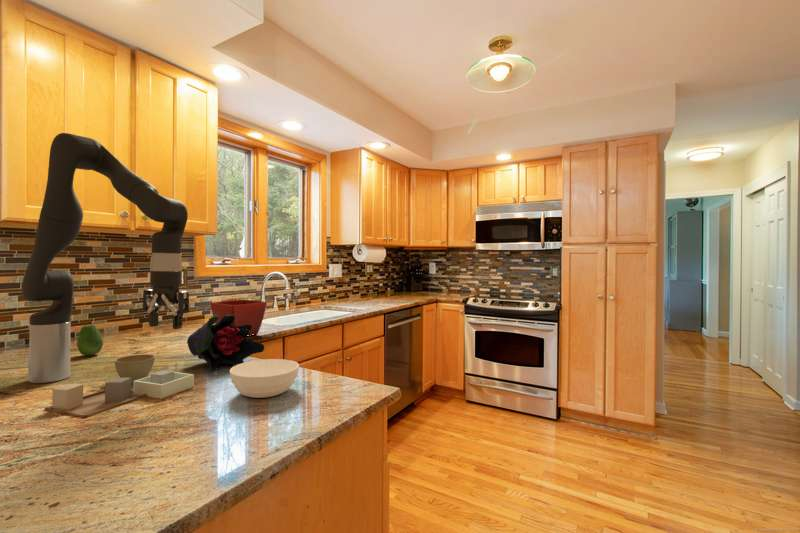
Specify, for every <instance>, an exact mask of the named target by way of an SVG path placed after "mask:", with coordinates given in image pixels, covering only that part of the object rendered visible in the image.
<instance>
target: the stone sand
mask: <svg viewBox="0 0 800 533" xmlns="http://www.w3.org/2000/svg"><path fill="white" fill-rule="evenodd" d="M51 391H52V401H51V403H52V404H51V406H52V408H56V409H62V410H70V409H73V408H75V407H78V406H81V405H83V396H84V384H80V383H79V384H78V383H67V384H63V385H61V386H58V387H55V388H52V390H51Z"/></svg>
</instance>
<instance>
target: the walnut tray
mask: <svg viewBox="0 0 800 533" xmlns="http://www.w3.org/2000/svg"><path fill="white" fill-rule="evenodd" d="M147 397H148V396H147V394H144V395H136V394H133V389H132V394H131V397H129V398H128V399H126V400H124V401H122V402H105V389H104V390H100V391H97V392H94V393H89V394H87V395H83V405H81V406H78V407H75V408H73V409H70V410H62V409H56V408H52V405H49V406H46V407H44V411H47V412H53V413H56V414H57V413H58V414H59V413H60V414H63V415H68V416H73V417H78V418H84V419H86V418H90V417H92V416H95V415H98V414H101V413H103V412H106V411H110V410H112V409H115V408H118V407H120V406H123V405H127V404H129V403H132V402H135V401H137V400H141V399H143V398H147Z"/></svg>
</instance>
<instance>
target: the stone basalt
mask: <svg viewBox="0 0 800 533" xmlns="http://www.w3.org/2000/svg"><path fill="white" fill-rule="evenodd" d="M104 390H105V402H122V401H124V400H126V399H128V398H129V397H131V394H132V390H133V383H132V378H120V377H114V378H112V379H110V380H108V381H106V382H104Z"/></svg>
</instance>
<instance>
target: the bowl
mask: <svg viewBox="0 0 800 533" xmlns="http://www.w3.org/2000/svg"><path fill="white" fill-rule="evenodd" d="M299 369H300V365H299V363H298V362H297V361H294V360H290V359H284V358H269V359H265V358H264V359H256V360H251V361H246V362H245V361H244V363H241V364H238V365H236V366H235V365H233V366H232V367H230V369H229V375H230V379H231V380H230V381H231V383H232V384H233V385H234V387H235V389H236V391H237V392H238V393H240V395H243V396H245V397H249V398H254V399H255V398H256V399H259V398H260V399H261V398H263V399H265V398H271V397H275V396H276V397H277V396H278V395H280V394H283V393H285V392H286V391H288V390H289V389H290V388H291V387H292V385H293V384H294V383H295V380H296V379H297V377H298V375H299V374H298V373H299Z"/></svg>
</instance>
